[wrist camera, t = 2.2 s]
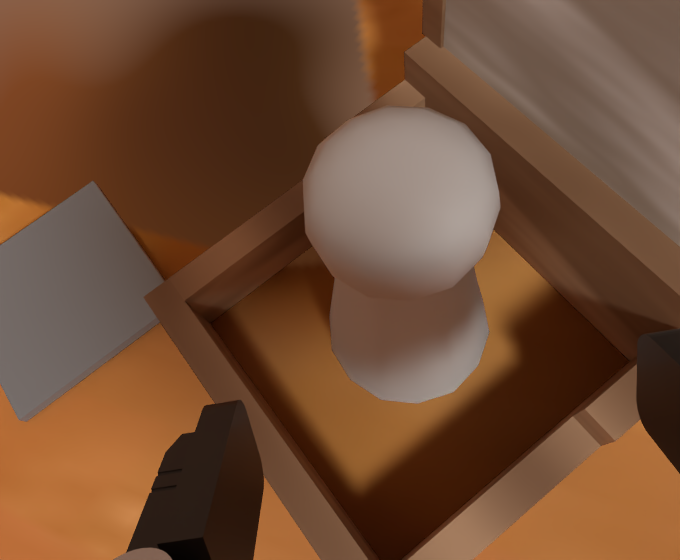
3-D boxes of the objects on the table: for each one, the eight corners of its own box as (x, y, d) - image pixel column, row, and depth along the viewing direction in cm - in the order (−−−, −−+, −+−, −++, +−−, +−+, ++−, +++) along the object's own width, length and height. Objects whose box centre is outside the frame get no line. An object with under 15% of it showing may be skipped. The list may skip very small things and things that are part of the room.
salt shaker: (507, 319, 24) (601, 125, 12) (434, 442, 22) (455, 368, 10) (384, 252, 25) (355, 22, 13) (310, 362, 24) (202, 217, 12)
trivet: (98, 185, 28) (93, 180, 28) (182, 305, 26) (178, 301, 25) (-45, 285, 27) (-53, 281, 27) (26, 421, 25) (18, 419, 24)
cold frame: (436, 118, 27) (461, -403, 12) (695, 357, 22) (1374, -7, 6) (170, 316, 25) (-229, 9, 10) (386, 630, 20) (279, 1065, 4)
